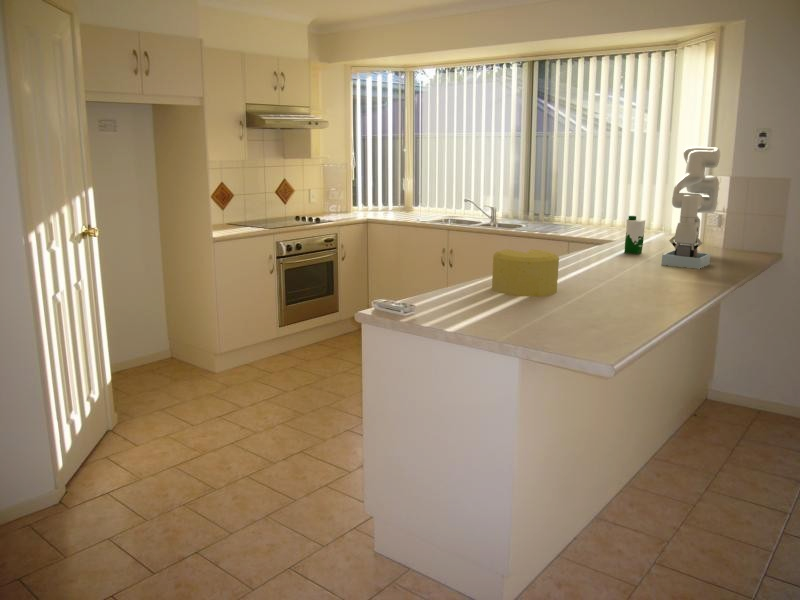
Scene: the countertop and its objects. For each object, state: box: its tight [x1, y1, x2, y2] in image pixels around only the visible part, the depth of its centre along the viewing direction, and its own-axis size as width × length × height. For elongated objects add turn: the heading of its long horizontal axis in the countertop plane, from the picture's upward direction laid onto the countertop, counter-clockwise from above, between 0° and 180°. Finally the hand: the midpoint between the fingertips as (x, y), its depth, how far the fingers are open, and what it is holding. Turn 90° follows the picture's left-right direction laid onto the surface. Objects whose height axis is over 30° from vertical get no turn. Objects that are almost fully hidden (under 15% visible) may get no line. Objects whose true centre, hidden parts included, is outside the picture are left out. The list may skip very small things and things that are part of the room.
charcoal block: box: [676, 245, 691, 257], centre depth 337 cm, size 6×6×7 cm
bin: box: [661, 249, 711, 270], centre depth 341 cm, size 18×18×5 cm
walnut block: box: [693, 247, 699, 258], centre depth 344 cm, size 6×6×7 cm
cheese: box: [491, 248, 560, 297], centre depth 277 cm, size 26×26×15 cm
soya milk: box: [623, 215, 646, 255], centre depth 374 cm, size 9×9×20 cm
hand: (684, 256), depth 338 cm, fingers closed on charcoal block, 5 cm apart
